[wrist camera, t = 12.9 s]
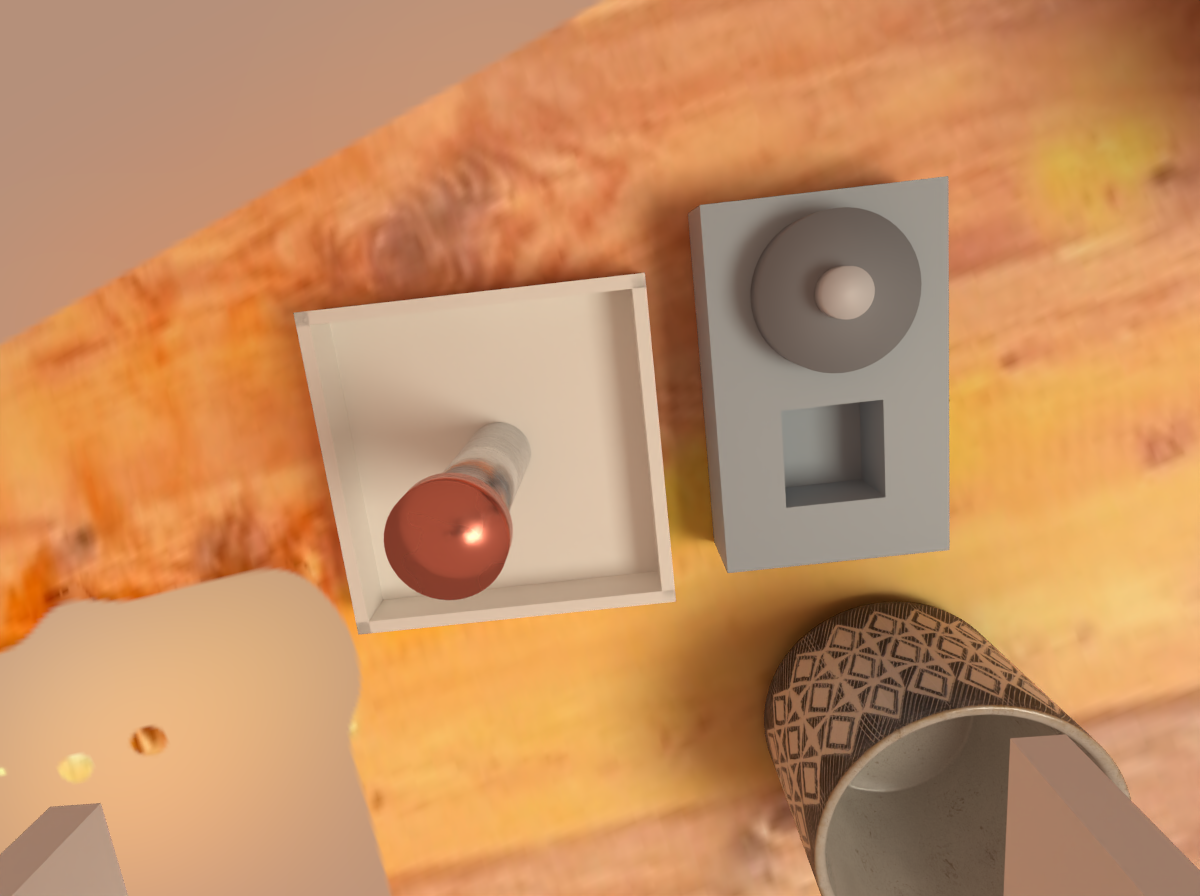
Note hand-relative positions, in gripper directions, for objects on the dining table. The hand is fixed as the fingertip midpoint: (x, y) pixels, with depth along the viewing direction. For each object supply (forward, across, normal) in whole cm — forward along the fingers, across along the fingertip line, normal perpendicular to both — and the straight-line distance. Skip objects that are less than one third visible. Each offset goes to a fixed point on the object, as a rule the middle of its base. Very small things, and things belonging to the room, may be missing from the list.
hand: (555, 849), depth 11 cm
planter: (+26, +14, -16) cm, 34 cm away
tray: (+26, -5, 0) cm, 26 cm away
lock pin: (+25, -5, 0) cm, 26 cm away
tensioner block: (+26, +10, +2) cm, 28 cm away
